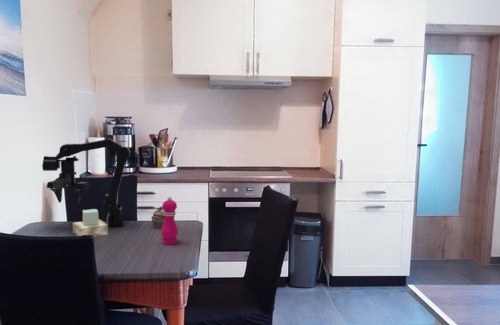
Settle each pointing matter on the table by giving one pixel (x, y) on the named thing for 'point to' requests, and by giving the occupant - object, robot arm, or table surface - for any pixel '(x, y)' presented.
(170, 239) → the pepper mill
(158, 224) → the cupcake
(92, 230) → the birch box
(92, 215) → the cube
